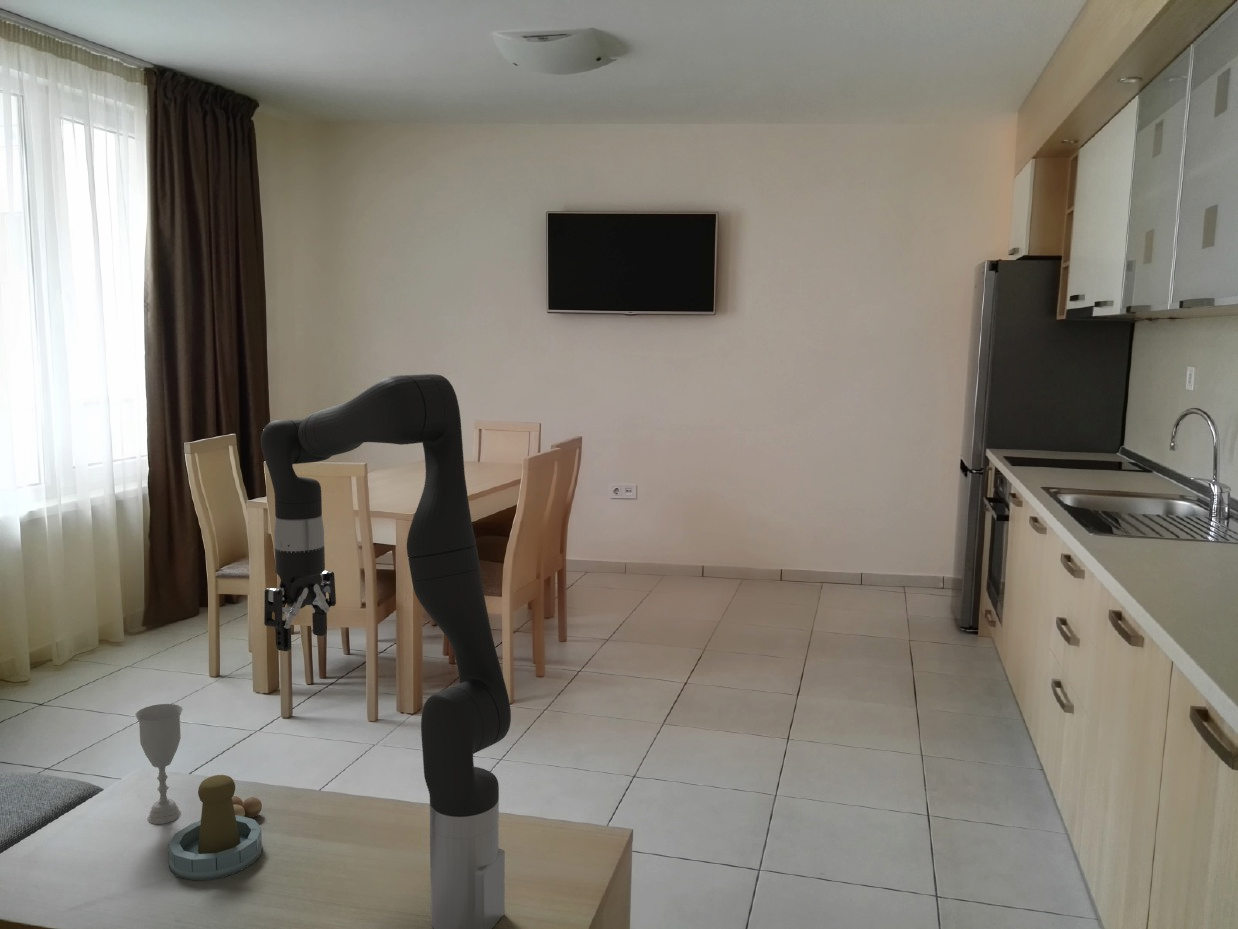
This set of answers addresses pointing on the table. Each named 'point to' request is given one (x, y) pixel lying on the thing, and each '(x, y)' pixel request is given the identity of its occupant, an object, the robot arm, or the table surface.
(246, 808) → the bead pile
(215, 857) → the dish
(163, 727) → the chalice
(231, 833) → the cork
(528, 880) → the table surface
